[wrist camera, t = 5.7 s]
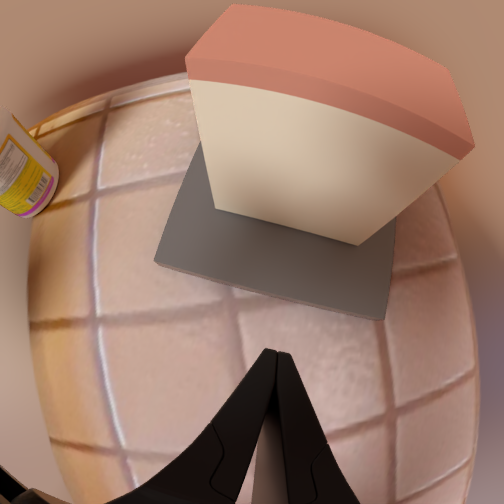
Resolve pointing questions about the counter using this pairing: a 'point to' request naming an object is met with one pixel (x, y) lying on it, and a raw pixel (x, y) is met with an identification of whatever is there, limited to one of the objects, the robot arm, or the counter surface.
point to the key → (320, 121)
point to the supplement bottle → (24, 169)
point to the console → (274, 254)
